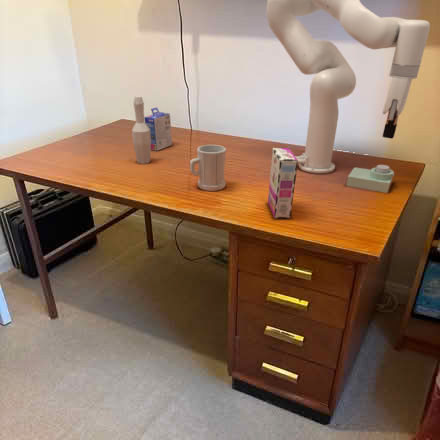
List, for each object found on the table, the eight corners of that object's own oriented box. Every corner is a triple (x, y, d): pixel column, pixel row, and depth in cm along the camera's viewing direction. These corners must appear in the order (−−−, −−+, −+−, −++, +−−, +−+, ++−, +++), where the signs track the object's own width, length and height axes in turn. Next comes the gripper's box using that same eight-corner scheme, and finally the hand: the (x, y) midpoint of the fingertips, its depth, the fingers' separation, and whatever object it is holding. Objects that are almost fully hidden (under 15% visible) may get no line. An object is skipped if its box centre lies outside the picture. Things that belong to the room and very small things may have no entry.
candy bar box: (292, 218, 120) (298, 159, 111) (274, 219, 120) (279, 160, 111) (283, 202, 130) (289, 147, 120) (267, 203, 129) (271, 147, 120)
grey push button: (374, 172, 138) (375, 167, 137) (376, 169, 141) (377, 163, 140) (387, 175, 137) (388, 169, 136) (389, 171, 140) (390, 165, 139)
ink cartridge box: (162, 143, 179) (159, 105, 171) (172, 145, 176) (170, 107, 168) (146, 148, 172) (143, 110, 164) (157, 151, 170) (154, 111, 161)
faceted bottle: (135, 164, 156) (128, 99, 143) (134, 159, 161) (128, 95, 149) (153, 163, 157) (148, 98, 145) (151, 158, 162) (146, 94, 150)
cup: (213, 195, 134) (213, 156, 127) (188, 189, 138) (187, 151, 131) (230, 184, 141) (231, 147, 134) (207, 179, 145) (206, 142, 138)
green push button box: (346, 185, 141) (348, 170, 139) (352, 176, 149) (355, 161, 146) (387, 193, 137) (391, 177, 134) (392, 182, 144) (395, 168, 141)
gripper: (394, 66, 130) (379, 129, 141) (386, 73, 119) (370, 141, 130) (421, 69, 128) (404, 133, 138) (415, 76, 117) (396, 145, 127)
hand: (388, 137), depth 134 cm, fingers closed
